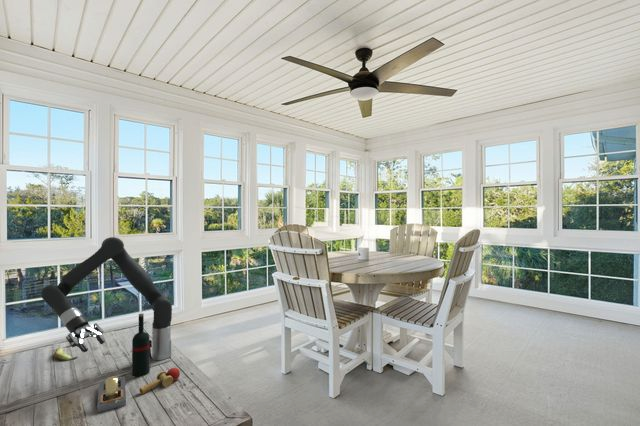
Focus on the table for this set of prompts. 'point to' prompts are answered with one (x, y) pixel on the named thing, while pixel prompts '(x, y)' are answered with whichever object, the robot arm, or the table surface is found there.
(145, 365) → the wine bottle
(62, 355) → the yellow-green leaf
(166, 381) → the kendama
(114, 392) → the brass peg
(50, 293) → the robot arm
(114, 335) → the table surface
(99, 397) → the grey flat frame
